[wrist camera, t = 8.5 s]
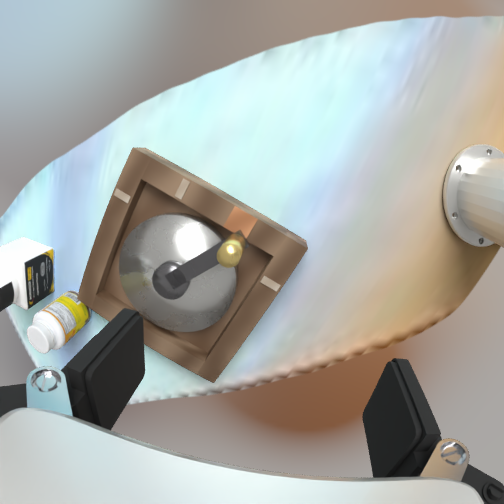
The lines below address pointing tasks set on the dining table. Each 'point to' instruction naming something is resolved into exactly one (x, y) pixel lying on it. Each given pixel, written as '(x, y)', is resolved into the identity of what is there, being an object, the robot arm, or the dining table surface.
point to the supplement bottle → (58, 322)
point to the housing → (219, 216)
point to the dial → (180, 271)
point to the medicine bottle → (25, 273)
